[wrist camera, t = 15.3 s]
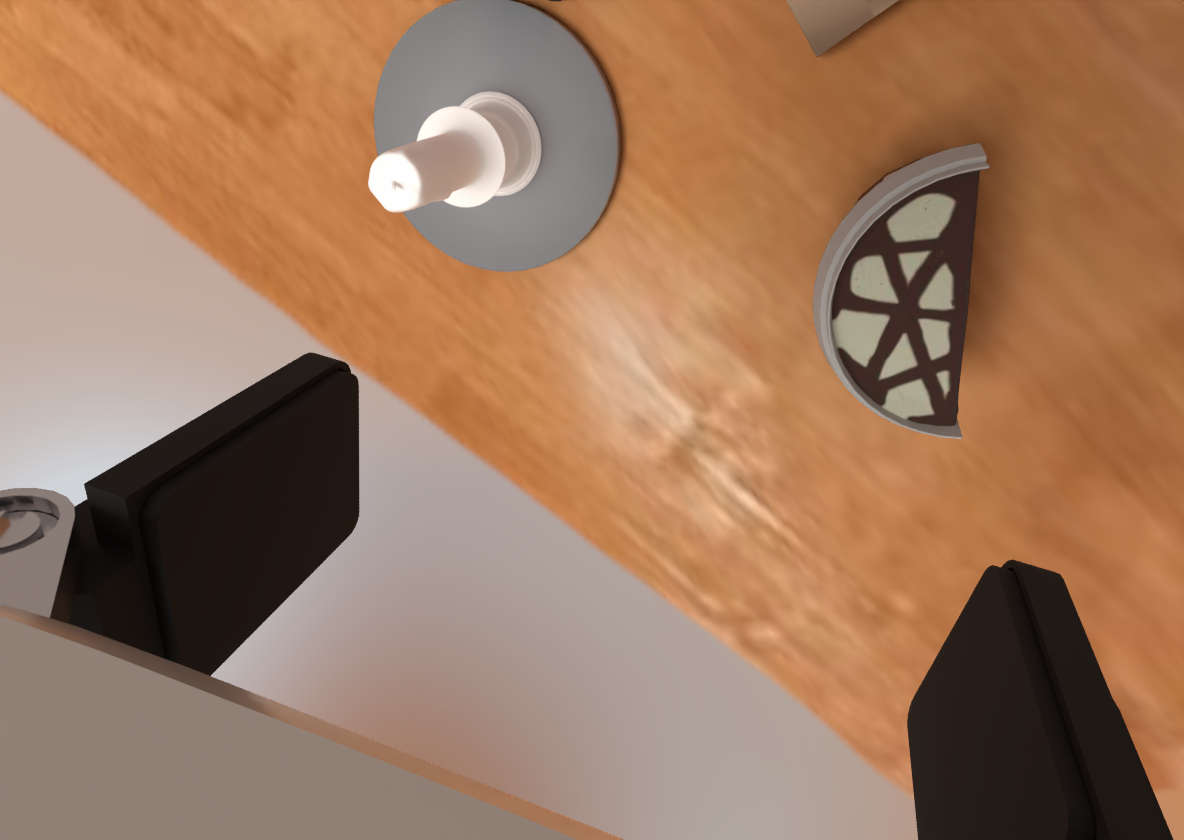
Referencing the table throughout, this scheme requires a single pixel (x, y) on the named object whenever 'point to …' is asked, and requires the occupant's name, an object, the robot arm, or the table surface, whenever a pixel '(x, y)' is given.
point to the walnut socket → (833, 19)
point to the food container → (903, 291)
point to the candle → (461, 156)
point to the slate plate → (551, 95)
